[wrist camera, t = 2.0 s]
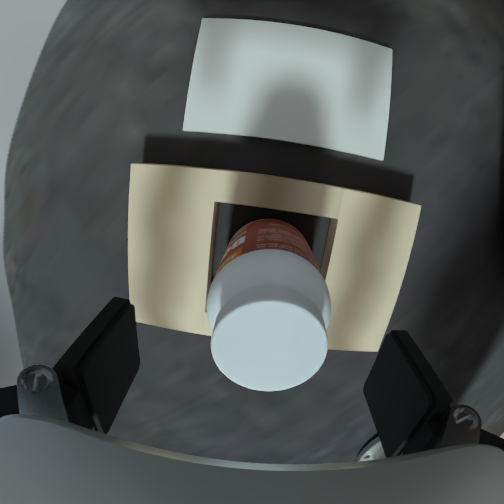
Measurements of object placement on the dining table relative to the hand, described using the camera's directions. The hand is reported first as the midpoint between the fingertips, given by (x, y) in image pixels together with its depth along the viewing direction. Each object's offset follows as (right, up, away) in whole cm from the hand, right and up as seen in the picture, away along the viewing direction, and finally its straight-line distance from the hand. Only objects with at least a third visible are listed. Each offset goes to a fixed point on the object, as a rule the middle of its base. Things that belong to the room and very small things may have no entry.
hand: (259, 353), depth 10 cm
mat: (+3, +15, +8) cm, 17 cm away
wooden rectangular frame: (+1, +3, +12) cm, 12 cm away
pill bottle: (+1, +3, +12) cm, 12 cm away
